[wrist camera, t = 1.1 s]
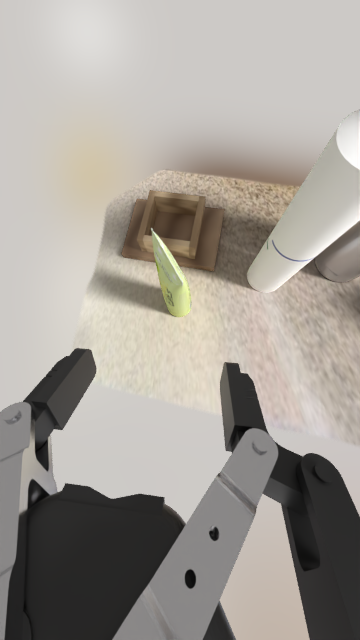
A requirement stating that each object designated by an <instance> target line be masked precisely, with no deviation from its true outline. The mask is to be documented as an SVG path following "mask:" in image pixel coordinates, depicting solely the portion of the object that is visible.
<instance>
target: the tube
mask: <svg viewBox="0 0 360 640" xmlns="http://www.w3.org/2000/svg"><path fill="white" fill-rule="evenodd" d="M151 231H152V242H153V250H154V256H155V261H156V266H157V271H158V276H159V281H160V285H161V289H162V293H163V296H164V300H165V303H166V305H167V308H168V310H169V312H170V313H171V314H172V315H173V316H176V317H183V316H185V315H187V314H188V313H189V312H190V310H191V296H190V290H189V286H188V283H187V280H186V278H185V276H184V274H183V272H182V271H181V269H180V267H179V266H178V264H177V262H176V260H175V259H174V257H173V256H172V254H171V253H170V251H169V250H168V248H167V247H166V245H165V244H164V243H163V241H162V240H161V239H160V238H159V237H158V235H157V234H156V233H155V232H154V231H153V229H152V228H151Z"/></svg>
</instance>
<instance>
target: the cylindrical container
mask: <svg viewBox="0 0 360 640" xmlns="http://www.w3.org/2000/svg"><path fill="white" fill-rule="evenodd" d="M358 221H360V110H357V111H355V112H353V113H351V114H350V115H348V116H347V117H346V118H345V119H344V120H343V121H342V122H341V124H340V125H339V127H338V129H337V130H336V132H335V133H334V135H333V137H332V138H331V140H330V141H329V143H328V144H327V146H326V147H325V149H324V151H323V152H322V154H321V155H320V157H319V159H318V160H317V162H316V163H315V165H314V166H313V168H312V170H311V171H310V173H309V174H308V176H307V178H306V179H305V181H304V182H303V184H302V185H301V187H300V188H299V190H298V192H297V193H296V195H295V196H294V198H293V199H292V201H291V203H290V204H289V206H288V207H287V209H286V211H285V212H284V214H283V215H282V217H281V218H280V220H279V222H278V223H277V225H276V226H275V228H274V229H273V231H272V233H271V234H270V236H269V237H268V239H267V241H266V242H265V244H264V245H263V247H262V248H261V250H260V252H259V253H258V255H257V256H256V258H255V260H254V261H253V263H252V264H251V266H250V268H249V269H248V272H247V279H248V282H249V284H250V285H251V287H253V288H254V289H255V290H257V291H259V292H264V293H268V292H272V291H274V290H276V289H277V288H279V287H280V286H281V285H282V284H283V283H285V282H286V281H287V280H288V279H289V278H291V277H292V276H293V275H294V274H295V273H297V272H298V271H299V270H300V269H301V268H303V267H304V266H305V265H306V264H308V263H309V262H310V261H311V260H312V259H314V258H315V257H316V256H317V255H318V254H320V253H321V252H322V251H323V250H324V249H326V248H327V247H328V246H329V245H331V244H332V243H333V242H334V241H335V240H337V239H338V238H339V237H340V236H341V235H343V234H344V233H345V232H346V231H347V230H349V229H350V228H351V227H352V226H353V225H355V224H356V223H357V222H358Z"/></svg>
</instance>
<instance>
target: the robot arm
mask: <svg viewBox="0 0 360 640" xmlns="http://www.w3.org/2000/svg"><path fill="white" fill-rule="evenodd" d="M315 263H316V266H317V268H318V270H319V271H320V273H321V274H322V275H323V276H324V277H326V278H328V279H329V280H332V281H335V282H348V281H351V280H353V279H355V278H357V277H359V276H360V221H358V222H357V223H356V224H355V225H353V226H352V227H351V228H350V229H349V230H347V231H346V232H345V233H344V234H343V235H341V236H340V237H339V238H338V239H337V240H335V241H334V242H333V243H332V244H331V245H329V246H328V247H327V248H326V249H324V250H323V251H322V252H321V253H320V254H318V255H317V256H316V257H315ZM95 374H96V365H95V362H94V358H93V355H92V352H91V350H90V349H80V348H76V349H75V350H74V351H73V352H72V353H71V354H70V356H66V357H64V358H63V359H62V360H60V361H58V362H57V363H56V365H55V366H54V367H53V368H52V369H51V371H49V373H48V374H47V375H46V377H44V378H43V379H42V381H41V382H40V383H39V384H38V385H37V386H36V387H35V388H34V390H33V391H32V392H31V393H30V394H29V395H28V396H27V397H26V399H25V400H24V401H23V402H19V403H15V404H13V405H10V406H8V407H7V408H5V409H4V410H2V411H1V412H0V640H236V639H235V636H234V634H233V632H232V629H231V627H230V625H229V622H228V620H227V618H226V615H225V613H224V610H223V608H222V606H221V603H220V601H219V600H220V597H221V595H222V593H223V590H224V588H225V586H226V583H227V581H228V578H229V576H230V574H231V571H232V569H233V567H234V564H235V561H236V560H237V557H238V555H239V552H240V550H241V548H242V545H243V543H244V541H245V538H246V536H247V533H248V531H249V529H250V526H251V524H252V522H253V519H254V516H255V513H256V508H257V505H258V502H259V500H260V497H261V495H262V493H263V494H264V495H266V496H268V497H270V498H272V499H274V500H276V501H277V502H279V503H281V505H282V511H283V515H284V520H285V524H286V530H287V534H288V539H289V544H290V548H291V553H292V558H293V562H294V567H295V572H296V577H297V581H298V586H299V590H300V596H301V600H302V605H303V610H304V614H305V619H306V624H307V628H308V633H309V638H310V640H360V517H359V514H358V512H357V510H356V508H355V505H354V503H353V501H352V499H351V497H350V494H349V492H348V490H347V488H346V485H345V483H344V481H343V479H342V477H341V475H340V473H339V472H338V470H337V469H336V468H335V467H334V465H333V464H332V463H331V462H329V461H328V460H327V459H325V458H324V457H322V456H320V455H318V454H314V453H309V454H306V455H305V456H303V457H302V456H300V455H298V454H296V453H294V452H291V451H289V450H287V449H285V448H283V447H281V446H280V445H278V444H277V443H276V442H275V441H274V440H273V438H272V437H271V436H270V435H269V433H268V431H267V429H266V426H265V422H264V419H263V415H262V412H261V408H260V404H259V401H258V397H257V393H256V390H255V386H254V383H253V381H252V379H251V378H250V377H249V375H248V374H245V373H240V368H239V364H238V363H228V362H225V363H224V366H223V371H222V376H221V380H220V394H221V405H222V416H223V426H224V437H225V448H226V451H231V452H232V455H231V456H230V458H229V459H228V461H227V463H226V464H225V466H224V467H223V469H222V471H221V472H220V473H219V474H218V475H217V476H216V478H215V479H214V481H213V482H212V484H211V486H210V487H209V489H208V490H207V492H206V494H205V495H204V497H203V498H202V500H201V502H200V503H199V505H198V506H197V508H196V510H195V511H194V513H193V514H192V516H191V518H190V519H189V521H188V522H187V524H185V522H184V521H183V520H182V518H181V517H180V516H179V515H178V514H177V512H175V511H174V510H173V509H172V508H171V507H169V506H167V505H166V504H165V502H164V497H157V496H151V495H144V494H136V495H131V496H126V497H121V498H116V499H110V498H108V497H106V496H104V495H102V494H101V493H99V492H97V491H96V490H94V489H92V488H91V487H88V486H81V485H74V484H65V486H64V488H63V490H62V491H60V492H57V486H56V482H55V480H54V476H53V466H52V445H51V436H50V434H51V432H52V431H53V429H58V430H63V428H64V426H65V425H66V423H67V422H68V420H69V418H70V417H71V415H72V413H73V411H74V410H75V408H76V407H77V405H78V403H79V402H80V400H81V398H82V397H83V395H84V393H85V392H86V390H87V388H88V387H89V385H90V383H91V382H92V380H93V378H94V377H95Z"/></svg>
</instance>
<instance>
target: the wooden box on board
mask: <svg viewBox="0 0 360 640" xmlns="http://www.w3.org/2000/svg"><path fill="white" fill-rule="evenodd" d="M224 210H225V209H217V208H208V207H205V197H203V196H194V195H186V194H177V193H169V192H160V191H152V190H150V192H149V196H148V200H143V199H137V200H136V203H135V207H134V211H133V214H132V218H131V221H130V225H129V228H128V232H127V235H126V239H125V243H124V246H123V250H122V253H121V254H122V255H123V257H125V258H131V259H138V260H144V261H150V262H156V261H155V256H154V250H153V242H152V231H151V228H152V229H153V231H154V232H155V233H156V234H157V235H158V237H159V238H160V239H161V240H162V241H163V243H164V244H165V245H166V247H167V248H168V250H169V251H170V253H171V254H172V256H173V257H174V259H175V260H176V262H177V264H178V266H183V267H189V268H196V269H202V270H209V271H214V267H215V262H216V256H217V250H218V245H219V239H220V233H221V227H222V222H223V216H224Z"/></svg>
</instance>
